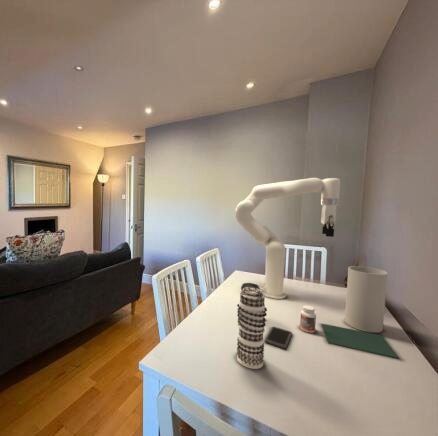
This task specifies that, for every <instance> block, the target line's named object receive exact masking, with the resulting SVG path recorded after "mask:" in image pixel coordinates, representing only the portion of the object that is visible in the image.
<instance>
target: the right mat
mask: <svg viewBox="0 0 438 436" xmlns="http://www.w3.org/2000/svg"><path fill="white" fill-rule="evenodd" d="M320 324H321V327H322V330H323V332H324V335H325V338H326V341H327V343H328V344H331V345H335V346H338V347H343V348H349V349H353V350H357V351H361V352H366V353H371V354H376V355H379V356H384V357H389V358H393V359H397V360H399V359H400V357H399V356H398V354H397V353H396V352H395V350H394V349H393V348H392V347H391V346H390V344H389V343H388V342H387V340H385V338H384V337H383V336H382V335H381V334H377V333H371V332H365V331H362V330H358V329H351V328H346V327H340V326H336V325H330V324H325V323H320Z"/></svg>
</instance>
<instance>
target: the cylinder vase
mask: <svg viewBox="0 0 438 436" xmlns="http://www.w3.org/2000/svg"><path fill="white" fill-rule="evenodd" d="M387 283H388V272H387V271H386V270H383V269H379V268H374V267H371V266H370V267H369V266H361V265H358V266H357V265H351V266H348V267H347V281H346V295H345V296H346V298H345V312H344V322H345V323H346V324H347V325H348V326H350V327H352V328H354V329H355V330H357V331H362V332H367V333H372V334H377V333H381V332H383V330H384V321H385V308H386V297H387Z"/></svg>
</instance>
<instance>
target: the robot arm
mask: <svg viewBox="0 0 438 436" xmlns="http://www.w3.org/2000/svg"><path fill="white" fill-rule="evenodd" d="M340 191H341V179H340V178H337V177H329V178H328V177H327V178H324V179H322V178H319V177H309V178H302V179H295V180H286V181H277V182H273V183H265V184H258V185H256V186H254V187H253V188H252V190H251V192H250V193H249V194H248V195H247V196H246V198H244V200H241V201H240V202H238V204H237V206H236V207H235V212H234V213H235V218H236V221H237V222H238V223H239V225H240V226H241V227H242V228H243V229H244V231H246V232H247V234H249V235H250V237H251V238H252V239H253V240H254V241H255V242H257V243H259V244H261V245H262V246H263V247H264V248H265V269H264V271H265V272H264V274H265V276H264V284H263V285H260V284H257V285H258V286H259V288H260V290H261V291H262V293H263V294H265V297H267V298H270V299H274V300H275V299H277V300H280V299H281V300H283V299H285V298H287V294H286V293H285V292H284V280H285V279H284V278H285V260H286V259H285V258H286V246H285V244H284V242H283V240H282V239H280V238H279V236H278V235H276V234H275V232H273V231H272V230H271V229H270V228H269V227H267V226H265V225H262V224H261V223H260V222H259V221H258V220H257V219H256V218H255V217H254V216H253V215H252V213H253V212H254V211H255V210H256V209H257V207H258V206H260V205H261V203H262V202H263V201H264V200H269V199H278V198H286V197H291V196H297V195H305V194H315V193H320V194H321V195H320V206H322V207H321V215H320V223H321V224H322V231H321V232H322V235H325V237H331V238H333V237H335V225H336V222H337V221H336V220H337V206H340V193H341V192H340Z"/></svg>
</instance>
